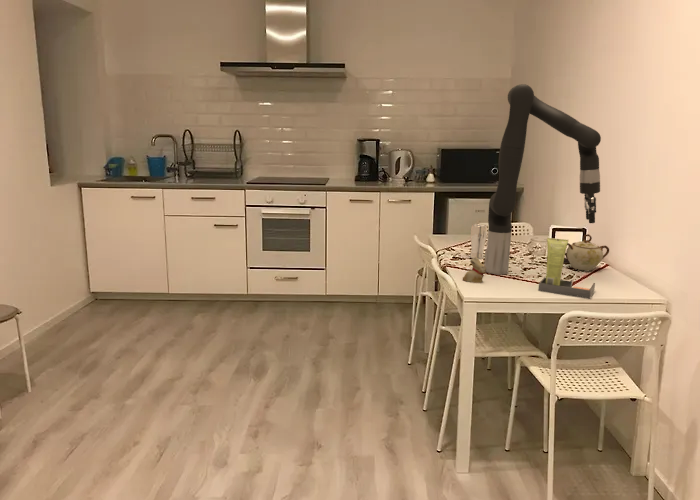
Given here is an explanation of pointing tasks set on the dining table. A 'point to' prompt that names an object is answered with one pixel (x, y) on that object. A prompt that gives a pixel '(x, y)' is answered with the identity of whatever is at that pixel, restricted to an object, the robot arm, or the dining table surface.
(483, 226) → the beer glass
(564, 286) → the channel
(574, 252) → the sugar bowl
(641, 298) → the dining table surface
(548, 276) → the tube
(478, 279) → the chocolate bunny
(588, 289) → the pad
